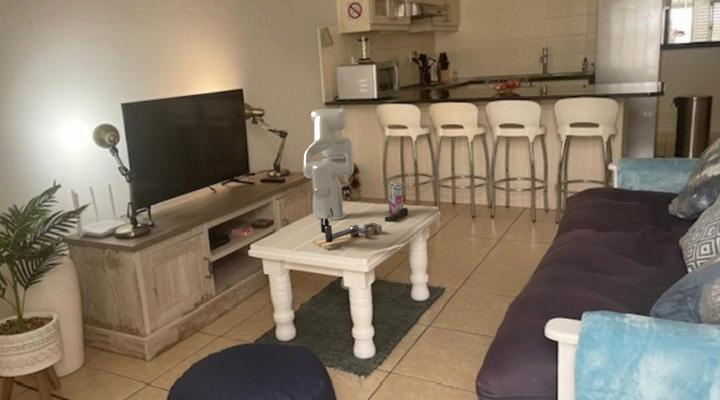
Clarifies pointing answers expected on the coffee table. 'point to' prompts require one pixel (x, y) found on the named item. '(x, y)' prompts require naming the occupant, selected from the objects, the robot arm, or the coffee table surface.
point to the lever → (345, 232)
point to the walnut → (372, 230)
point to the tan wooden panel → (348, 238)
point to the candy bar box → (395, 197)
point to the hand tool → (397, 215)
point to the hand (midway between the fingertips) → (325, 232)
